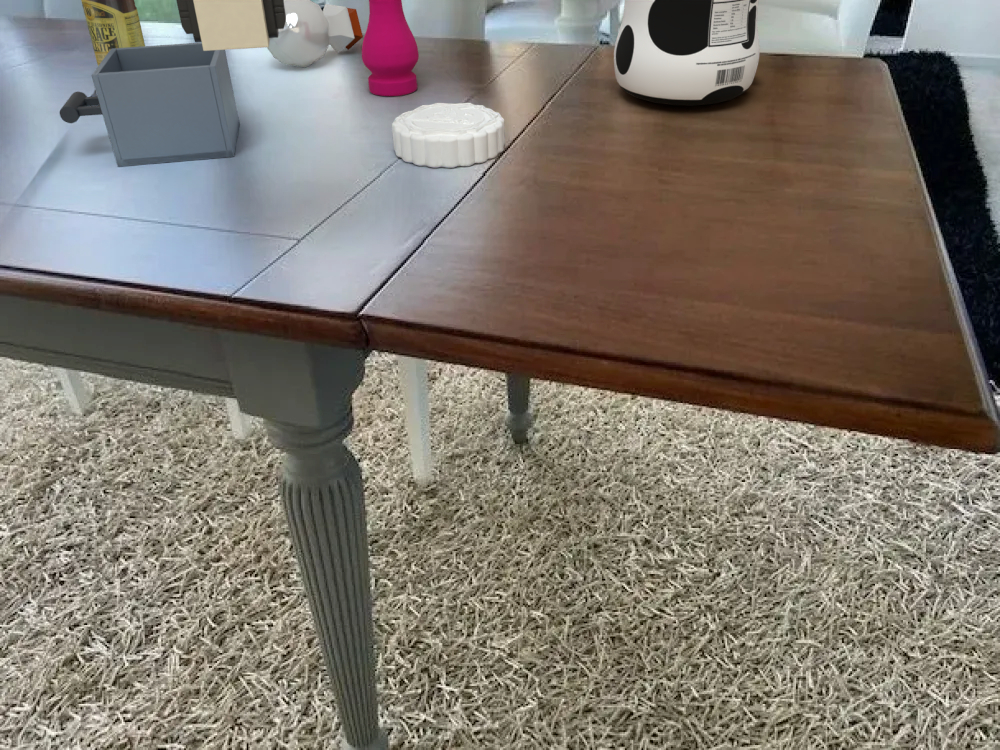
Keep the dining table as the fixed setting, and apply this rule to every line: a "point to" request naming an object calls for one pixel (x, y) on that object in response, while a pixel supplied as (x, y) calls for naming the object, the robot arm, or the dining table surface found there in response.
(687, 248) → the dining table surface
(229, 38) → the block
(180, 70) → the grey drawer with handle
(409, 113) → the mooncake
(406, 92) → the pepper mill
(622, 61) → the milk container
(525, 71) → the dining table surface
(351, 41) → the potion bottle
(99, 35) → the sauce bottle
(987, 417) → the dining table surface
